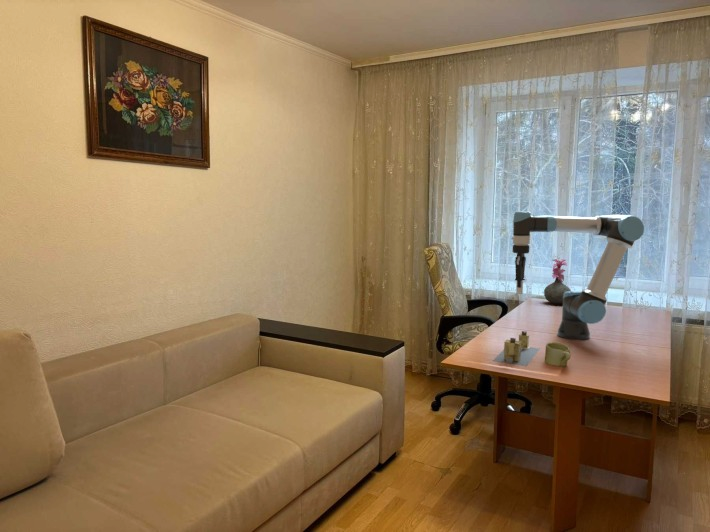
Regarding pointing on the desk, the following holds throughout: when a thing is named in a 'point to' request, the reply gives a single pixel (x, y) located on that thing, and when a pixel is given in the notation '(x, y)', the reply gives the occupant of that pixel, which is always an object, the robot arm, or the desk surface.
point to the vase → (556, 284)
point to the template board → (525, 356)
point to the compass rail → (524, 344)
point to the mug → (557, 354)
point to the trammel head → (512, 349)
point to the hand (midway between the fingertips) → (519, 293)
